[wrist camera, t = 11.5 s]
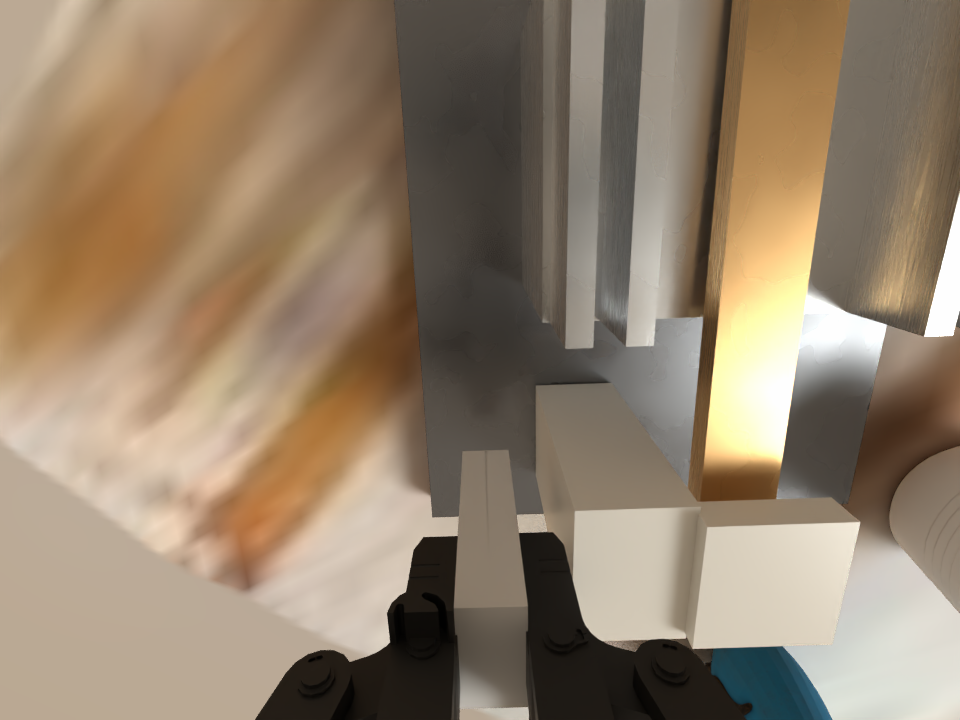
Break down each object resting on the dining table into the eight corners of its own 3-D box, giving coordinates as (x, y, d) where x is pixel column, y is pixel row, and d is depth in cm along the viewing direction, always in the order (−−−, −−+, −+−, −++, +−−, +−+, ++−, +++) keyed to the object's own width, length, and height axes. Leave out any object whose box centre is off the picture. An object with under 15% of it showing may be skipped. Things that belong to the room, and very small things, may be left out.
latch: (535, 385, 20) (578, 523, 12) (698, 379, 20) (862, 514, 11) (535, 474, 21) (575, 658, 13) (689, 469, 21) (830, 650, 13)
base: (388, -159, 16) (222, -832, 6) (958, -182, 16) (1882, -907, 5) (435, 497, 23) (401, 741, 13) (824, 484, 23) (1109, 719, 13)
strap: (761, -314, 9) (786, -361, 9) (869, -318, 9) (904, -366, 9) (684, 527, 14) (695, 544, 14) (754, 524, 14) (769, 542, 14)
